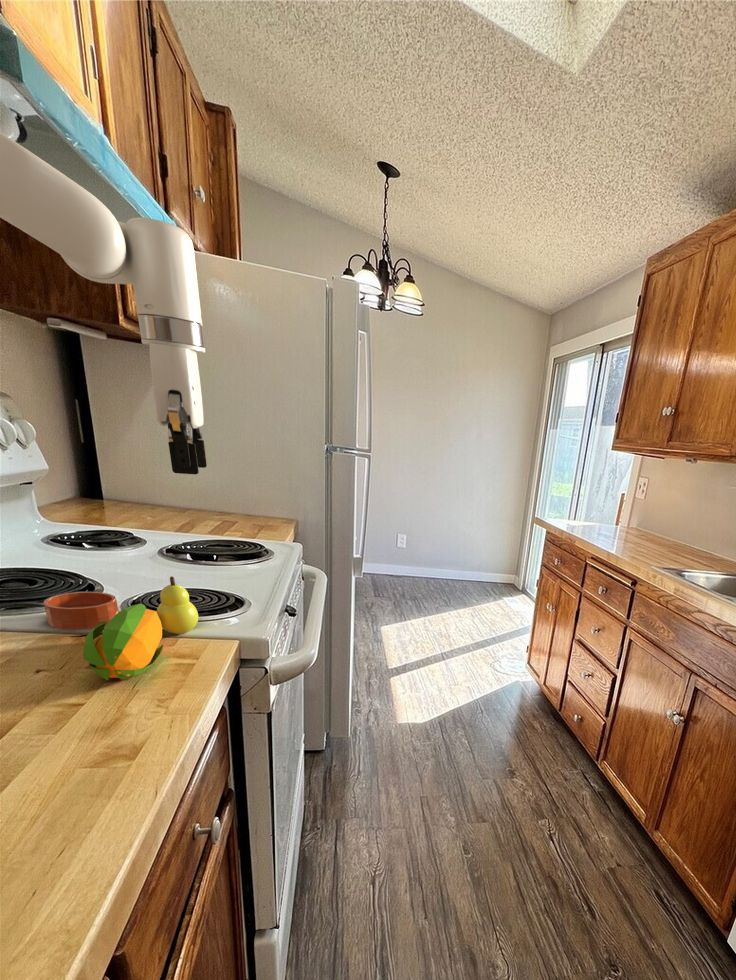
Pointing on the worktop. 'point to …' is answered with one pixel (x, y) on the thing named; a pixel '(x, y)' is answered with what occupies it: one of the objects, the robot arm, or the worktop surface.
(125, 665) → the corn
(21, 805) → the worktop surface
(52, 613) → the bowl
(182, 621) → the pear
